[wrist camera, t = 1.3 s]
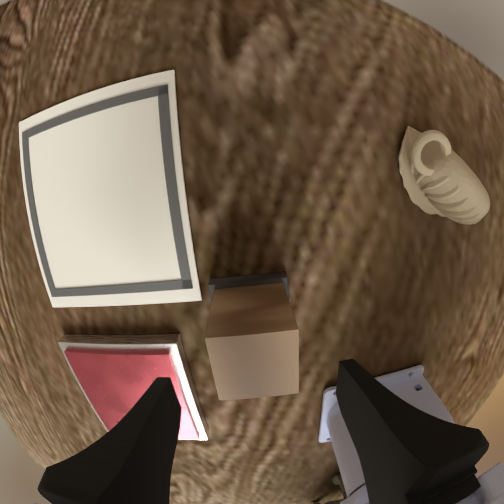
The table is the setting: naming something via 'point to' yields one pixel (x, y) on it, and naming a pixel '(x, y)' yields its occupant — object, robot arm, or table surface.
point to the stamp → (252, 337)
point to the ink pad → (132, 375)
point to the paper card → (110, 197)
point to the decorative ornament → (440, 178)
